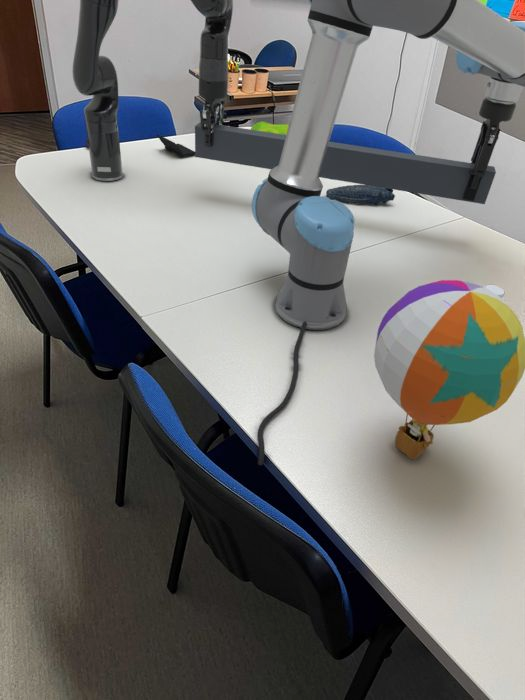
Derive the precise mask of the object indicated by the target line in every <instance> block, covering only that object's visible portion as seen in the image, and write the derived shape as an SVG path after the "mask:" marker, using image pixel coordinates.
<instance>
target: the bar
mask: <svg viewBox="0 0 525 700" xmlns="http://www.w3.org/2000/svg"><path fill="white" fill-rule="evenodd" d="M207 127H208V125H207ZM285 138H286V135H283V134H276V133H270V132H263V131H257V130H251V128H243V127H236V126H229V125H223V124H221V125H217V124H215V125H214V132H213V146H212V147H207V146H205V132H203V131H202V130H201V121H199V122H198V123H197V124H195V125H194V151H195V155H194V157H195V158H198V159H205V160H212V161H217V162H224V163H230V164H235V165H241V166H242V165H243V166H248V167H255V168H261V169H266V170H271V169H273V168H275V167H276V166H278V165H279V161H280V158H281V154H282V150H283V146H284V142H285ZM474 166H475V164H474V163H471V162H468V161H467V162H466V161H459V160H454V159H447V158H440V157H433V156H426V155H421V154H414V153H407V152H401V151H394V150H387V149H382V148H381V149H380V148H375V147H367V146H360V145H355V144H348V143H341V142H336V141H329V143H328V146H327V150H326V153H325V156H324V160H323V163H322V166H321V170H320V173H319V178H320V179H321V178H322V179H327V180H328V179H329V180H334V181H340V182H346V183H351V184H356V185H370V186H376V187H382V188H388V189H393V191H394V190H395V191H401V192H407V193H413V194H418V195H419V194H420V195H426V196H431V197H436V198H437V197H438V198H443V199H449V200H455V201H460V202H461V201H462V202H467V203H475V204H480V205H485V204H486V202H487V199H488V196H489V194H490V191H491V188H492V185H493V183H494V179H495V177H496V174H497V172H496V167H495V166H494V165H493V166H492V165H488V166H487V169H486V172H485V175H484V176H482V179H481V181H480V184H479V187H478V190H477V193H476V196H475V199H474V201H471V200H465V199H463V196H464V193H465V190H466V187H467V184H468V181H469V178H470V174H469V172H472V171H473V169H474Z"/></svg>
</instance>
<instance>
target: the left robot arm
mask: <svg viewBox="0 0 525 700" xmlns="http://www.w3.org/2000/svg"><path fill="white" fill-rule="evenodd" d="M190 2H191V3H192V4H193V6H194V7H195V9H196V10H197V11H198V12H199V13H200V14H201V15H202V16H203V17H204V18H205V19H204V20H205V21H204V27H203V30H202V31H201V33H200V38H199V43H200V44H199V64H198V95H199V96H200V97H202V98H204V104H203V107H202V108H203V109H200V110H199V120H200V122H201V130H202V131H203V132H205V146H207V147H212V146H213V132H214V125H215V124H217V125H222V124H223V123H224V116H225V115H224V113H225V105H226V101H225V100H224V99H226V98H227V97H228V89H229V87H228V85H229V83H228V82H229V36H230V30H231V23H232V18H233V10H234V0H190ZM118 8H119V0H79V13H78V24H77V34H76V42H75V48H74V54H73V61H72V79H73V83H74V87H75V88H76V90H77V91H78V93H80V94H81V95H83V96H88V97H89V96H92V98H91V99H90V102H89V103H88V104H86V106H85V107H84V109H83V115H84V123H85V129H86V130H85V131H86V137H87V138H86V141H85V143H84V145H85V147H86V148H87V149H88V153H89V154H88V155H89V161H90V168H91V177H92V178H93V179H94V180H96V181H101V182H114V181H118V180H120V179H122V178H123V177H124V172H123V165H122V164H123V163H122V152H121V142H120V132H119V131H120V130H119V122H118V121H119V120H118V111H119V106H120V103H119V101H120V100H119V82H118V74H117V70H116V67H115V65H114V63H113V62H112V60H111V59H110V58H109V57H107V56H105V55H100V52H101V51H100V50H101V47H102V44H103V41H104V39H105V37H106V35H107V34H108V31H109V30H110V27H111V26H112V24H113V22H114V20H115V17H116V16H117V12H118ZM207 125H208V127H207Z"/></svg>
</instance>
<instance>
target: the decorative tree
mask: <svg viewBox="0 0 525 700" xmlns="http://www.w3.org/2000/svg"><path fill="white" fill-rule="evenodd" d="M288 127H289V124H272V123H269V122H266V121H259V122H257V123H254V124H253V125H251V128H250V130H257V131H263V132H270V133H276V134H283V135H286V134H287V131H288Z"/></svg>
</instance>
